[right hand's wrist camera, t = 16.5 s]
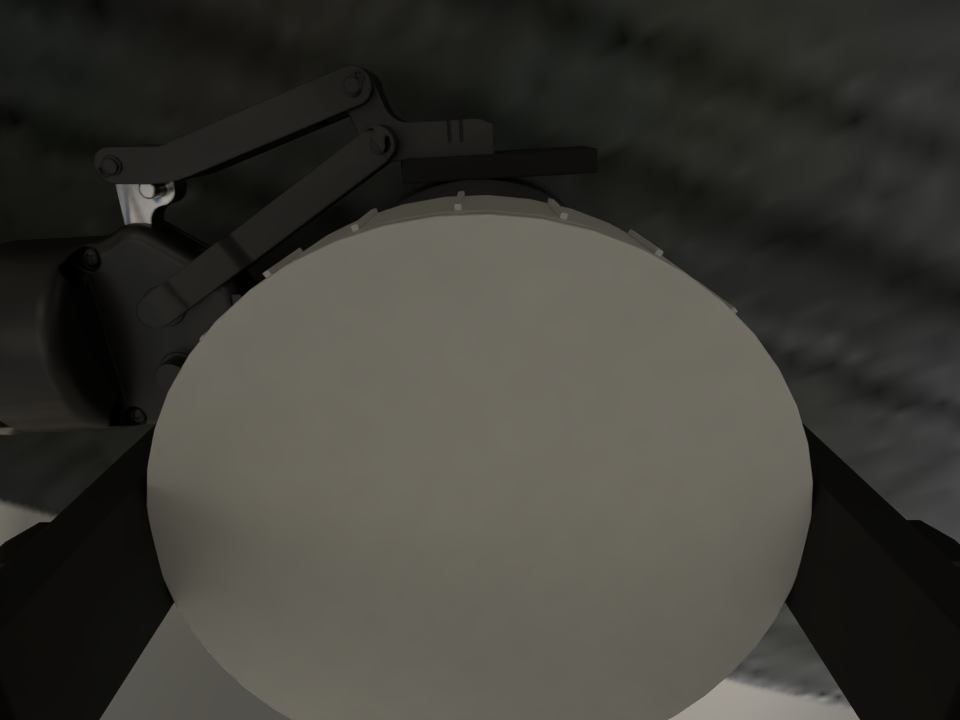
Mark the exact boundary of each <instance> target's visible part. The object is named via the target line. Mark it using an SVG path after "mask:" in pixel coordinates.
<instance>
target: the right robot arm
mask: <svg viewBox="0 0 960 720" xmlns="http://www.w3.org/2000/svg"><path fill="white" fill-rule="evenodd" d="M802 425H803V428H804V432H805V435H806V438H807V442H808V447H809V455H810V463H811V472H812V480H813V490H812V515H811V520H810V524H809V529H808V533H807V537H806V541H805V545H804V549H803V554H802V558H801V562H800V565H799V569H798V572H797V576H796V579H795V582H794V584H793V587H792V589H791V591H790V593H789V595H788V597H787V599H786V600H785V603H786V604H787V606H788V607H789V609H790V611H791V612H792V614H793V615H794V617H795V618H796V620H797V622H798V623H799V625H800V626H801V628H802V629H803V631H804V633H805V634H806V636H807V637H808V639H809V640H810V642H811V643H812V645H813V647H814V648H815V650H816V651H817V653H818V654H819V656H820V658H821V659H822V661H823V662H824V664H825V665H826V667H827V669H828V670H829V672H830V673H831V675H832V676H833V678H834V680H835V681H836V683H837V684H838V686H839V687H840V689H841V691H842V692H843V694H844V695H845V697H846V698H847V700H848V702H849V703H850V705H851V706H852V708H853V709H854V711H855V713H856V714H857V716H858V717H859V719H860V720H960V544H959V543H958V542H956V541H955V540H954V539H952V538H951V537H949V536H947V535H945V534H944V533H942V532H940V531H938V530H937V529H935V528H933V527H931V526H929V525H928V524H926V523H924V522H922V521H921V520H906V519H905V518H904V517H903V516H901V515H900V514H899V513H898V512H897V511H896V510H895V509H894V508H893V507H892V506H891V505H890V504H889V503H888V502H886V501H885V500H884V499H883V498H882V497H881V496H880V495H879V494H878V493H877V492H876V491H875V490H874V489H872V488H871V487H870V486H869V485H868V484H867V483H866V482H865V481H864V480H863V479H862V478H861V477H860V476H858V475H857V474H856V473H855V472H854V471H853V470H852V469H851V468H850V467H849V466H848V465H847V464H846V463H844V462H843V461H842V460H841V459H840V458H839V457H838V456H837V455H836V454H835V453H834V452H833V451H832V450H831V449H829V448H828V447H827V446H826V445H825V444H824V443H823V442H822V441H821V440H820V439H819V438H818V437H817V436H815V435H814V434H813V433H812V432H811V431H810V430H809V429H808V428H807V427H806V426H805V425H804V424H803V423H802ZM155 427H156V425H155V426H154V427H152V428H151V429H150V430H149V431H148V432H147V433H146V434H145V435H144V436H143V437H142V438H141V439H140V440H138V441H137V442H136V443H135V444H134V445H133V446H132V447H131V448H130V449H129V450H128V451H127V452H126V453H125V454H123V455H122V456H121V457H120V458H119V459H118V460H117V461H116V462H115V463H114V464H113V465H112V466H111V467H109V468H108V469H107V470H106V471H105V472H104V473H103V474H102V475H101V476H100V477H99V478H98V479H97V480H95V481H94V482H93V483H92V484H91V485H90V486H89V487H88V488H87V489H86V490H85V491H84V492H83V493H81V494H80V495H79V496H78V497H77V498H76V499H75V500H74V501H73V502H72V503H71V504H70V505H69V506H67V507H66V508H65V509H64V510H63V511H62V512H61V513H60V514H59V515H58V516H57V517H56V518H55V519H54V520H52V521H51V522H39V523H38V524H36V525H34V526H32V527H31V528H29V529H27V530H25V531H24V532H22V533H20V534H18V535H17V536H15V537H13V538H11V539H10V540H8V541H6V542H5V543H4V544H3V545H1V546H0V720H99V719H100V718H101V716H102V715H103V713H104V712H105V710H106V708H107V707H108V705H109V704H110V702H111V701H112V699H113V697H114V696H115V694H116V693H117V691H118V690H119V688H120V686H121V685H122V683H123V682H124V680H125V679H126V677H127V675H128V674H129V672H130V671H131V669H132V668H133V666H134V664H135V663H136V661H137V660H138V658H139V657H140V655H141V653H142V652H143V650H144V649H145V647H146V646H147V644H148V642H149V641H150V639H151V638H152V636H153V635H154V633H155V631H156V630H157V628H158V627H159V625H160V624H161V622H162V621H163V619H164V617H165V616H166V614H167V613H168V611H169V610H170V608H171V606H172V605H173V603H174V600H173V598H172V596H171V594H170V592H169V589H168V587H167V585H166V583H165V581H164V578H163V575H162V571H161V567H160V564H159V560H158V556H157V552H156V548H155V544H154V540H153V536H152V531H151V527H150V522H149V518H148V512H147V467H148V462H149V456H150V451H151V446H152V440H153V435H154V430H155Z"/></svg>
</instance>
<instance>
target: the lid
mask: <svg viewBox="0 0 960 720" xmlns="http://www.w3.org/2000/svg"><path fill="white" fill-rule="evenodd" d="M662 254H663V251H662V250H660V249H659V248H658V247H656V246H655V245H653V244H652V243H650V242H649V241H648V240H646V239H645V238H643V237H642V236H640V235H639V234H638V233H636V232H635V231H633V230H631V229H630V231H629V232H628V233H626V232H624V231H622V230H620V229H618V228H617V227H615V226H613V225H611V224H609V223H607V222H604V221H602V220H599V219H597V218H594V217H591V216H589V215H586V214H584V213H581V212H578V211H576V210H573V209H570V208H566V207H562V206H560V205H559V204H558V203H557V202H556V201H555V200H554V199H550V198H548V202H547V203H545V202H540V201H536V200H532V199H524V198H513V197H502V196H492V195H479V196H465V194H464V191H459V192H458V194H457V196H455V197H442V198H436V199H431V200H425V201H420V202H414V203H408V204H403V205H400V206H397V207H394V208H391V209H388V210H385V211H382V212H379V213H378V211H377V209H376V208H375V209H372V210H370V211H369V212H368V213H366V214H365V215H364V216H363V217H361V218H360V219H359V220H357V221H355V222H353V223H351V224H349V225H347V226H345V227H343V228H341V229H339V230H337V231H335V232H333V233H331V234H329V235H327V236H325V237H324V238H323V239H321V240H320V241H318V242H317V243H315V244H314V245H312V246H311V247H309V248H308V249H306V250H305V251H302V249H301V248H298V249H297V250H296V251H294V252H293V253H291V254H290V255H288V256H287V257H285V258H284V259H283V260H281V261H280V262H278V263H277V264H275V265H274V266H272V267H271V268H269V269H268V270H267V271H265V272H264V273H263V275H264V276H265V277H266V278H265V279H264V280H263V281H261V282H260V283H259V284H257V285H256V286H254V287H253V288H252V289H250V290H249V291H248V292H247V293H246V294H245V295H244V296H242V297H241V298H240V299H239V300H238V301H237V302H236V303H235V304H234V305H233V306H232V307H231V308H229V309H228V310H227V311H226V312H225V313H224V314H223V315H222V316H221V317H220V318H219V319H218V320H216V321H215V323H214V324H213V325H212V327H211V328H210V329H209V330H208V331H207V332H206V333H204V334H203V335H202V336H201V338H200V339H199V340H200V342H199V343H198V344H197V345H196V347H195V348H194V349H193V350H192V352H191V353H190V354H189V356H188V357H187V359H186V361H185V363H184V364H183V366H182V368H181V370H180V372H179V373H178V375H177V377H176V379H175V380H174V382H173V384H172V386H171V388H170V389H169V391H168V394H167V396H166V399H165V402H164V405H163V407H162V410H161V413H160V416H159V418H158V421H157V424H156V427H155V430H154V435H153V440H152V446H151V451H150V456H149V462H148V467H147V512H148V518H149V522H150V527H151V531H152V536H153V540H154V544H155V548H156V552H157V556H158V560H159V564H160V567H161V571H162V575H163V578H164V581H165V583H166V585H167V587H168V589H169V592H170V594H171V596H172V598H173V600H174V602H175V604H176V607H177V608H178V610H179V611H180V613H181V614H182V616H183V618H184V619H185V621H186V622H187V624H188V625H189V627H190V628H191V630H192V631H193V633H194V635H195V636H196V637H197V639H198V640H199V641H200V642H201V643H202V645H203V646H204V647H205V648H206V649H207V650H208V652H209V653H210V654H211V655H212V656H213V658H214V659H215V660H216V661H217V662H218V663H219V664H220V665H221V666H222V667H223V668H224V669H225V670H226V671H227V672H228V673H229V674H230V675H231V676H233V677H234V678H235V679H236V680H237V681H238V682H239V683H240V684H241V685H242V686H243V687H244V688H246V689H247V690H248V691H250V692H251V693H252V694H254V695H255V696H257V697H258V698H259V699H261V700H262V701H263V702H265V703H266V704H267V705H269V706H270V707H271V708H273V709H275V710H276V711H278V712H280V713H281V714H283V715H285V716H287V717H288V718H290V719H292V720H668V719H670V718H672V717H674V716H675V715H677V714H678V713H680V712H681V711H683V710H684V709H686V708H687V707H689V706H690V705H692V704H693V703H695V702H696V701H698V700H699V699H701V698H702V697H703V696H705V695H706V694H707V693H708V692H710V691H711V690H712V689H713V688H714V687H715V686H717V685H718V684H719V683H720V682H721V681H723V680H724V679H725V678H726V677H727V676H728V675H730V674H731V673H732V672H733V671H734V670H735V669H736V667H737V666H738V665H739V664H740V663H741V662H742V661H743V660H744V659H745V658H746V657H747V656H748V655H749V653H750V652H751V651H752V650H753V649H754V648H755V647H756V646H757V644H758V643H759V641H760V640H761V639H762V637H763V636H764V634H765V633H766V632H767V630H768V629H769V627H770V626H771V625H772V623H773V622H774V620H775V619H776V617H777V615H778V614H779V612H780V610H781V608H782V606H783V604H784V602H785V600H786V599H787V597H788V595H789V593H790V591H791V589H792V587H793V584H794V582H795V579H796V576H797V572H798V569H799V565H800V562H801V558H802V554H803V549H804V545H805V541H806V537H807V533H808V529H809V524H810V520H811V515H812V490H813V480H812V472H811V463H810V455H809V447H808V442H807V438H806V435H805V432H804V428H803V425H802V421H801V418H800V415H799V411H798V408H797V405H796V403H795V401H794V399H793V397H792V395H791V393H790V391H789V389H788V386H787V384H786V382H785V380H784V378H783V376H782V374H781V372H780V370H779V368H778V367H777V365H776V364H775V362H774V361H773V360H772V358H771V357H770V355H769V354H768V353H767V351H766V350H765V348H764V347H763V345H762V344H761V343H760V341H759V340H758V338H757V337H756V335H755V334H754V333H753V332H752V331H751V330H750V329H749V328H748V327H747V326H746V325H745V324H744V323H743V322H742V320H741V319H740V318H739V317H738V316H737V315H736V313H737V312H738V311H737V310H736V309H735V308H734V307H733V306H732V305H730V304H729V303H727V302H726V301H725V300H723V299H722V298H721V297H719V296H718V295H716V294H715V293H714V292H712V291H711V290H709V289H708V288H707V287H705V286H704V285H703V284H701V283H700V282H698V281H697V280H694V279H693V278H692V277H690V276H689V275H688V274H686V273H685V272H684V271H682V270H681V269H680V268H678V267H677V266H675V265H674V264H673V263H671V262H670V261H669V260H667V259H666V258H664V257H663V256H662Z"/></svg>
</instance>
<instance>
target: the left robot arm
mask: <svg viewBox="0 0 960 720" xmlns="http://www.w3.org/2000/svg"><path fill="white" fill-rule="evenodd" d="M349 116H350V117H351V120H352V122H353V124H354V126H355V128H356V130H357V132H358V134H359V135H358V136H357V137H355V138H354V139H353V140H351V141H350V142H349V143H347V144H346V145H345V146H344V147H342V148H341V149H340V150H338V151H337V152H336V153H334V154H333V155H332V156H331V157H329V158H328V159H327V160H325V161H324V162H323V163H321V164H320V165H319V166H317V167H316V168H315V169H314V170H312V171H311V172H310V173H308V174H307V175H306V176H304V177H303V178H302V179H301V180H299V181H298V182H297V183H295V184H294V185H293V186H291V187H290V188H289V189H288V190H286V191H285V192H284V193H282V194H281V195H280V196H278V197H277V198H276V199H275V200H273V201H272V202H271V203H269V204H268V205H267V206H265V207H264V208H263V209H262V210H260V211H259V212H258V213H256V214H255V215H254V216H252V217H251V218H250V219H248V220H247V221H246V222H245V223H243V224H242V225H241V226H239V227H238V228H237V229H235V230H234V231H233V232H231V233H230V234H229V235H227V236H226V237H224V238H222V239H221V240H219V241H218V242H216V243H215V244H214V245H212V246H211V247H210V246H208V245H207V244H205V243H203V242H201V241H200V240H198V239H196V238H195V237H193V236H191V235H189V234H188V233H186V232H184V231H183V230H181V229H179V228H177V227H176V226H174V225H172V224H170V223H168V222H166V221H164V212H165V209H166V208H167V206H169V205H170V204H171V203H175V202H178V201H180V200H182V199H183V198H184V196H185V195H186V191H187V182H186V180H185V179H189V178H194V177H199V176H204V175H208V174H211V173H214V172H217V171H220V170H222V169H225V168H227V167H229V166H232V165H234V164H237V163H239V162H241V161H244V160H246V159H249V158H251V157H253V156H256V155H258V154H261V153H263V152H265V151H268V150H270V149H273V148H275V147H277V146H280V145H282V144H285V143H287V142H289V141H292V140H294V139H297V138H299V137H301V136H304V135H306V134H309V133H311V132H313V131H316V130H318V129H321V128H323V127H325V126H328V125H330V124H333V123H335V122H337V121H340V120H342V119H345V118H347V117H349ZM392 161H401V167H402V177H403V184H408V183H426V182H443V181H460V180H477V179H495V178H512V177H529V176H546V175H564V174H581V173H597V149H595V148H591V147H586V146H576V147H559V148H542V149H525V150H508V151H494V133H493V124H492V123H490V122H487V121H484V120H481V119H479V118H474V119H457V120H441V121H424V122H406V121H403V120H401V119H400V118H398V117H397V116H396V115H395V114H394V113H393V111H392V109H391V107H390V105H389V103H388V101H387V99H386V96H385V94H384V92H383V88H382V83H381V82H380V80H379V78H378V77H377V76H376V75H374V74H373V73H372V72H370V71H367V70H365V69H363V68H361V67H359V66H355V65H348V66H344V67H341V68H339V69H337V70H334V71H332V72H330V73H327V74H325V75H323V76H320V77H318V78H316V79H313V80H311V81H309V82H306V83H304V84H302V85H299V86H297V87H295V88H293V89H290V90H288V91H286V92H283V93H281V94H279V95H276V96H274V97H272V98H269V99H267V100H265V101H262V102H260V103H258V104H255V105H253V106H251V107H248V108H246V109H244V110H241V111H239V112H237V113H234V114H232V115H230V116H227V117H225V118H223V119H220V120H218V121H216V122H213V123H211V124H209V125H206V126H204V127H202V128H199V129H197V130H195V131H192V132H190V133H188V134H185V135H183V136H181V137H178V138H176V139H174V140H172V141H169V142H167V143H165V144H159V145H131V146H115V147H105V148H101V149H100V150H99V151H97V152H96V154H95V157H94V167H95V170H96V172H97V174H98V175H99V176H100V177H101V178H102V179H103V180H104V181H106V182H108V183H111V184H116V188H117V192H118V196H119V201H120V205H121V210H122V214H123V219H124V223H125V225H124V226H123V227H121V228H119V229H118V230H117V231H116V232H114V233H113V234H111V235H108V236H90V237H73V238H55V239H37V240H20V241H12V242H7V243H4V244H0V435H12V434H16V433H21V432H25V431H26V432H34V433H42V432H62V431H83V430H103V429H116V428H124V427H130V426H135V425H142V424H152V425H156V424H157V421H158V418H159V416H160V413H161V410H162V407H163V405H164V402H165V399H166V396H167V394H168V391H169V389H170V388H171V386H172V384H173V382H174V380H175V379H176V377H177V375H178V373H179V372H180V370H181V368H182V366H183V364H184V363H185V361H186V359H187V357H188V356H189V354H190V353H191V352H192V350H193V349H194V348H195V347H196V345H197V344H198V343H199V342H200V340H199V339H200V338H201V336H202V335H203V334H204V333H206V332H207V331H208V330H209V329H210V328H211V327H212V325H213V324H214V323H215V321H216V320H218V319H219V318H220V317H221V316H222V315H223V314H224V313H225V312H226V311H227V310H228V309H229V308H231V307H232V306H233V305H234V304H235V303H236V302H237V301H238V300H239V299H240V298H241V297H242V296H244V295H245V294H246V293H247V292H248V291H249V290H250V289H252V288H253V287H254V286H256V285H257V284H259V283H260V281H254V279H253V277H252V276H251V274H250V273H249V272H248V271H247V270H248V269H249V268H250V267H252V266H253V265H254V264H256V263H257V262H258V261H260V260H261V259H262V258H264V257H265V256H266V255H268V254H269V253H270V252H272V251H273V250H274V249H275V248H277V247H278V246H279V245H281V244H282V243H283V242H285V241H286V240H287V239H289V238H290V237H291V236H293V235H294V234H295V233H297V232H298V231H299V230H301V229H302V228H303V227H305V226H306V225H307V224H309V223H310V222H311V221H313V220H314V219H315V218H317V217H318V216H319V215H321V214H322V213H323V212H325V211H326V210H327V209H329V208H330V207H332V206H333V205H334V204H336V203H337V202H338V201H340V200H341V199H342V198H344V197H345V196H346V195H348V194H349V193H350V192H352V191H353V190H354V189H356V188H357V187H358V186H360V185H361V184H362V183H364V182H365V181H366V180H368V179H369V178H370V177H372V176H373V175H374V174H376V173H377V172H378V171H380V170H381V169H383V168H384V167H385V166H387V165H388V164H389V163H391V162H392Z"/></svg>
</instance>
